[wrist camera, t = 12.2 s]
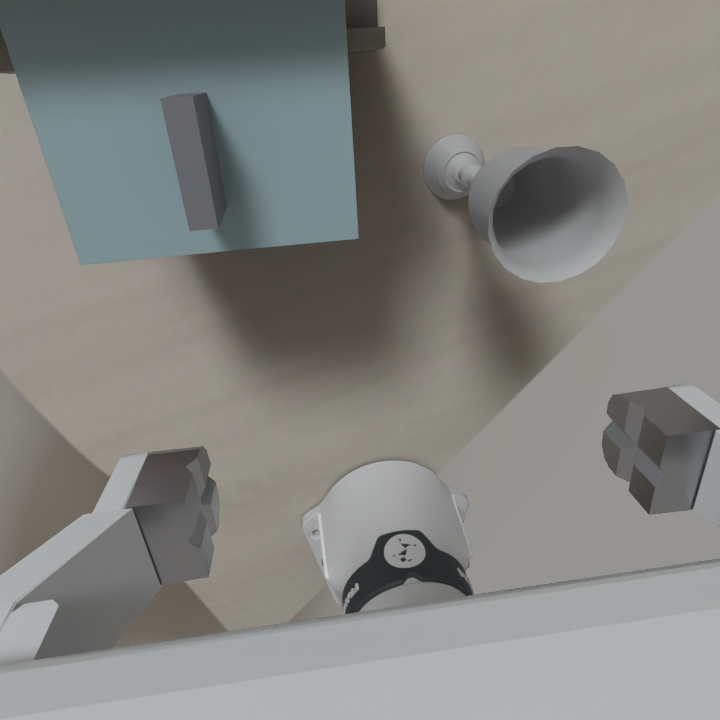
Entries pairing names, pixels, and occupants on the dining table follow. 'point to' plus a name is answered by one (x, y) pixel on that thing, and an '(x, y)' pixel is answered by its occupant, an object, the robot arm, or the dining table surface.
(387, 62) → the dining table surface
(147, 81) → the cabinet
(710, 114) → the dining table surface
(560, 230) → the chalice
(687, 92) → the dining table surface
